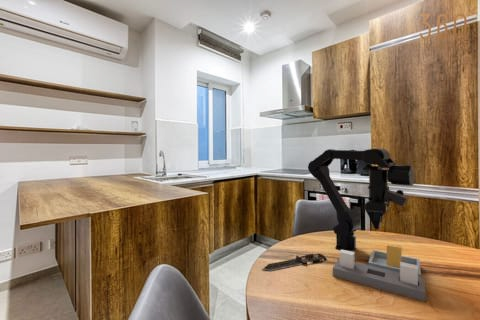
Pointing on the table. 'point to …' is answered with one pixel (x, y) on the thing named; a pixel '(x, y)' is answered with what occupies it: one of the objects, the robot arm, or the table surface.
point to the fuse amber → (394, 255)
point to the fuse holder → (381, 280)
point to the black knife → (293, 262)
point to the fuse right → (409, 273)
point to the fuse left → (347, 259)
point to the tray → (380, 261)
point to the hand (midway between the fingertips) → (378, 225)
